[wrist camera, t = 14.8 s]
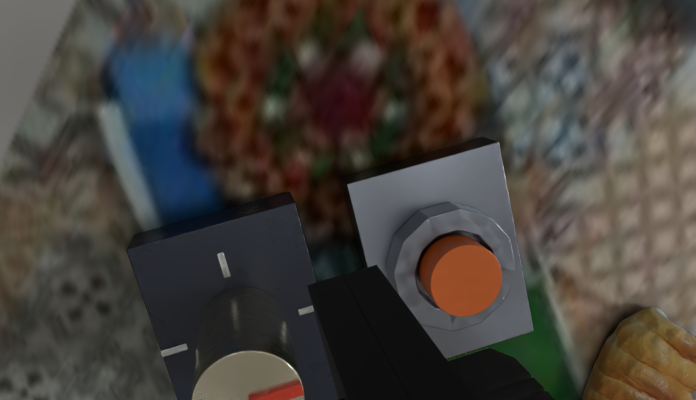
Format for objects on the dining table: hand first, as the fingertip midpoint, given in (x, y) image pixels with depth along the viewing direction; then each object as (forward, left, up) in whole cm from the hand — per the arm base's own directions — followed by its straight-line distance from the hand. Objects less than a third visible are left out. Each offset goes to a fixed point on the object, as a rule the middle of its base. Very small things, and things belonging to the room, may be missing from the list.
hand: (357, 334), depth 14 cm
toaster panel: (+8, -4, -24) cm, 26 cm away
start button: (+8, +8, -21) cm, 24 cm away
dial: (+8, -4, -21) cm, 23 cm away
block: (+8, +8, -24) cm, 27 cm away
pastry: (+20, +20, -25) cm, 37 cm away
